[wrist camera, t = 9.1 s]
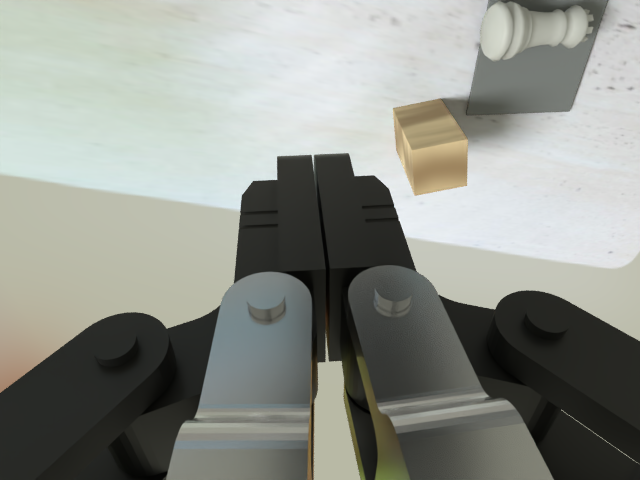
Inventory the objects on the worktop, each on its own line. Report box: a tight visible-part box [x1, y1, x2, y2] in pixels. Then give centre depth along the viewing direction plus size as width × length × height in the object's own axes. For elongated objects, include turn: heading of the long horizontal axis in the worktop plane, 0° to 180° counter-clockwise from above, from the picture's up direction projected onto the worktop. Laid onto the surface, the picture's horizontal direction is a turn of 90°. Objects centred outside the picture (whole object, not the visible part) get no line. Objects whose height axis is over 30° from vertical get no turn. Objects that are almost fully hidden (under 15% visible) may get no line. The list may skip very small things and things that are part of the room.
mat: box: [466, 0, 608, 115], centre depth 41 cm, size 16×10×1 cm, turn 0°
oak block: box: [393, 99, 468, 196], centre depth 43 cm, size 4×4×8 cm
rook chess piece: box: [480, 1, 594, 61], centre depth 39 cm, size 4×4×8 cm
